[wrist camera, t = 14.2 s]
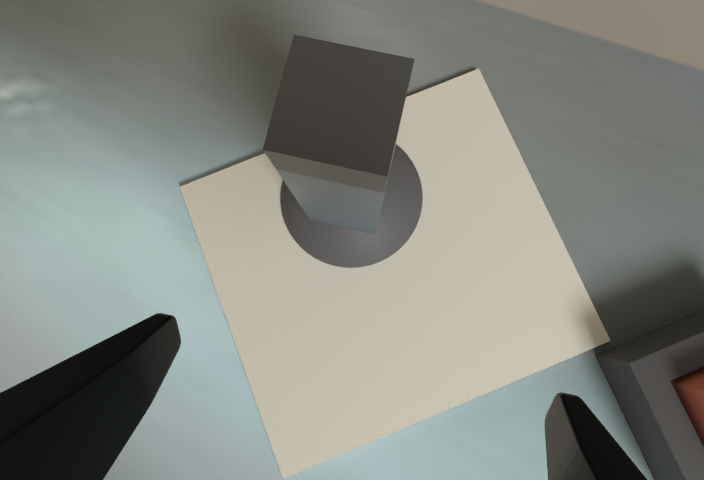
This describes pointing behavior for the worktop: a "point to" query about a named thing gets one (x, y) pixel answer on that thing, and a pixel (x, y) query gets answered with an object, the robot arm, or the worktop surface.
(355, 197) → the dark grey block
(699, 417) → the button
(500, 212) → the paper sheet
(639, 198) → the worktop surface
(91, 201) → the worktop surface
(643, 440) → the button socket
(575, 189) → the worktop surface
